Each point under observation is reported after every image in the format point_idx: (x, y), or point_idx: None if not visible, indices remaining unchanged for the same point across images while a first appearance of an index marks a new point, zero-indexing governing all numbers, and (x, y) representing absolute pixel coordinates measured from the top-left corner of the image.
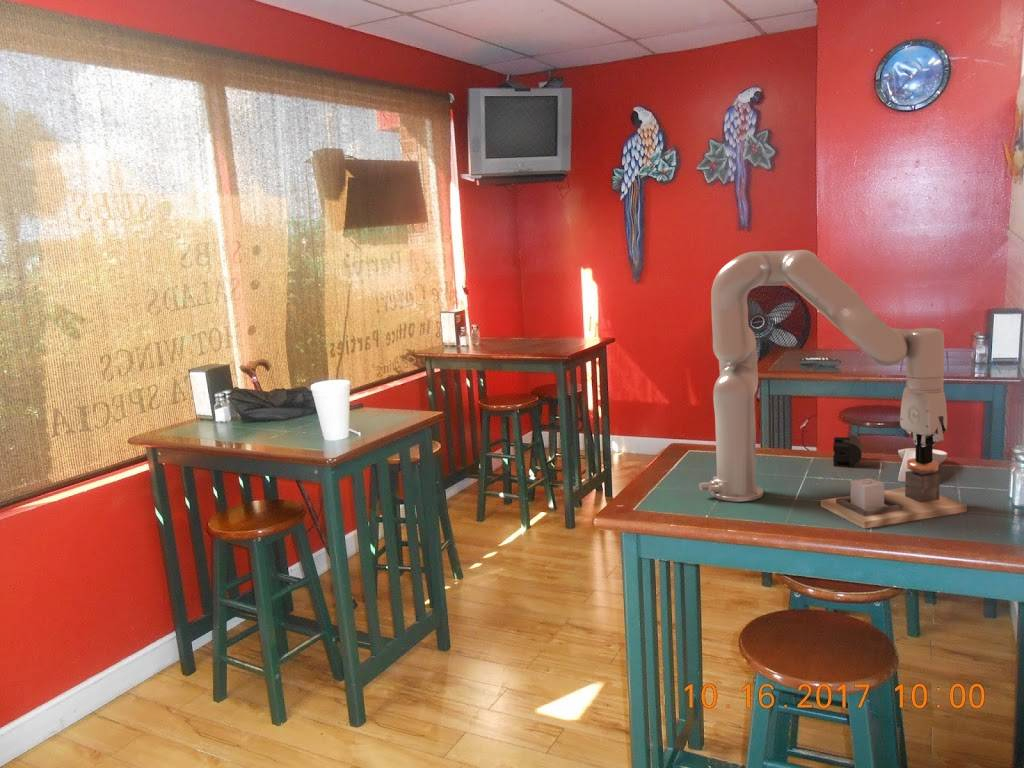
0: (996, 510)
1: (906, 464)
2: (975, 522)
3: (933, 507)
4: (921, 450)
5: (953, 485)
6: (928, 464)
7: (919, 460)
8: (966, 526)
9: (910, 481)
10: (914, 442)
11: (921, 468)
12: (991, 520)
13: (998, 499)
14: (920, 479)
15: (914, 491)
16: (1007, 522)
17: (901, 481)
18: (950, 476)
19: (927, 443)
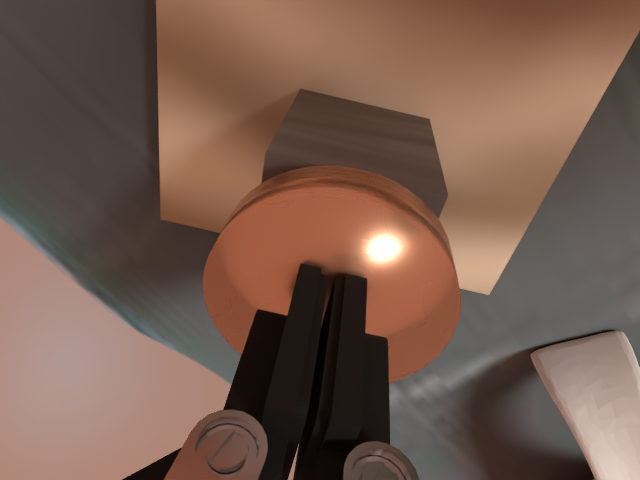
0: (143, 285)
1: (628, 422)
2: (44, 114)
3: (201, 72)
4: (275, 372)
5: (419, 400)
6: (245, 281)
7: (309, 279)
8: (3, 30)
9: (387, 152)
10: (407, 478)
11: (252, 198)
12: (50, 184)
13: (230, 370)
14: (272, 144)
15: (347, 118)
16: (15, 206)
17: (606, 333)
18: (483, 456)
19: (165, 476)
